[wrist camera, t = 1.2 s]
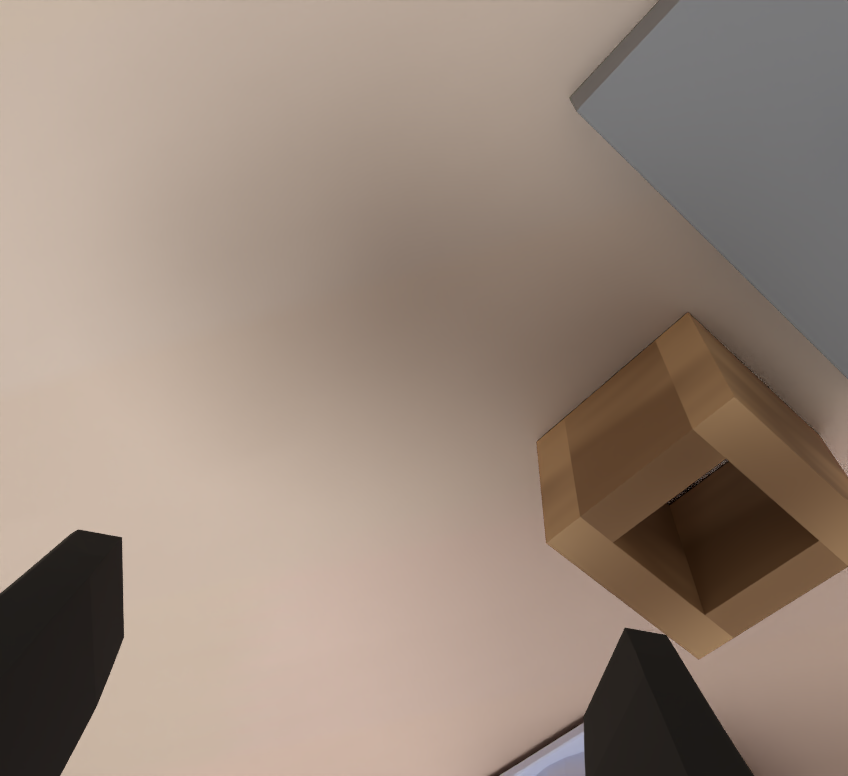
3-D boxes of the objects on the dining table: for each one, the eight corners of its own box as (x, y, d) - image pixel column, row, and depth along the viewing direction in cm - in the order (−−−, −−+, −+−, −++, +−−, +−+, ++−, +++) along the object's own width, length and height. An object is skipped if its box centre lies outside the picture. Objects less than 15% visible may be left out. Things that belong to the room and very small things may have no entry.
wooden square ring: (819, 436, 20) (890, 539, 16) (665, 546, 22) (698, 659, 18) (687, 312, 18) (734, 396, 15) (536, 442, 20) (546, 542, 17)
